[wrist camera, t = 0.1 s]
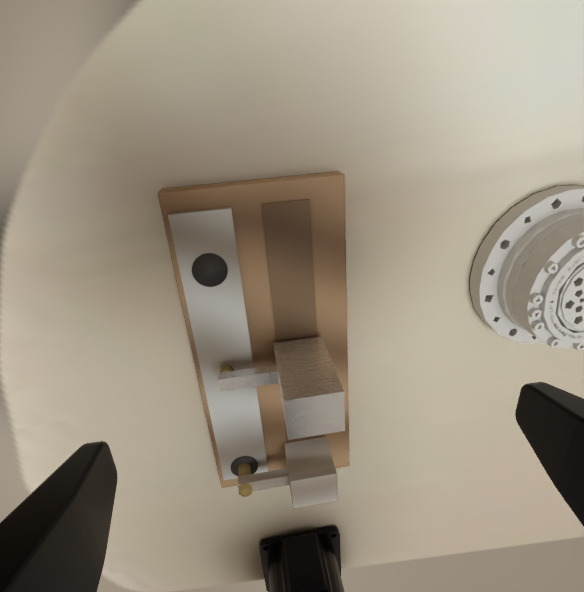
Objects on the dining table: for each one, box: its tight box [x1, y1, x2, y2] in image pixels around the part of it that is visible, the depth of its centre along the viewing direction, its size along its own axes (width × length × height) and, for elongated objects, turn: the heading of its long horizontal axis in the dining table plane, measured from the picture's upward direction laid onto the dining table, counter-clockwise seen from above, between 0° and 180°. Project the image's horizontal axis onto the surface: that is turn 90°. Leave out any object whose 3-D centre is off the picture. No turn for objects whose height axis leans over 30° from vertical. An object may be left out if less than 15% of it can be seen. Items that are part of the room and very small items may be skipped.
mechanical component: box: [470, 185, 584, 351], centre depth 23 cm, size 10×4×10 cm
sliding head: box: [218, 336, 345, 440], centre depth 21 cm, size 2×6×5 cm, turn 94°
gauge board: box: [158, 171, 349, 509], centre depth 23 cm, size 20×9×4 cm, turn 4°
